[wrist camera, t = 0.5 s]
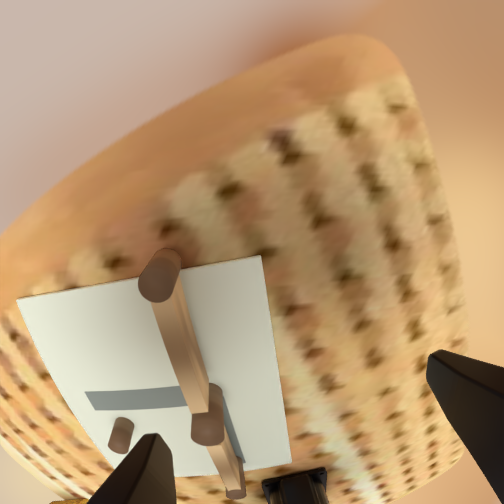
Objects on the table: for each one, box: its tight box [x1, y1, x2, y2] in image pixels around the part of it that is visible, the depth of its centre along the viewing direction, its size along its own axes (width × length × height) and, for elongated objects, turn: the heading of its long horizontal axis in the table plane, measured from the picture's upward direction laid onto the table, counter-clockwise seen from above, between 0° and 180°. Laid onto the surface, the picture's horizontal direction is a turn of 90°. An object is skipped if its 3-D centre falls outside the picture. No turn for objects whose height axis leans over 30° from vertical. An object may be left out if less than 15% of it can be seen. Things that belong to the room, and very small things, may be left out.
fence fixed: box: [108, 383, 246, 499], centre depth 18 cm, size 11×9×4 cm
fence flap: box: [138, 248, 209, 414], centre depth 15 cm, size 9×2×3 cm, turn 9°
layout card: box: [16, 255, 292, 477], centre depth 19 cm, size 20×17×1 cm
